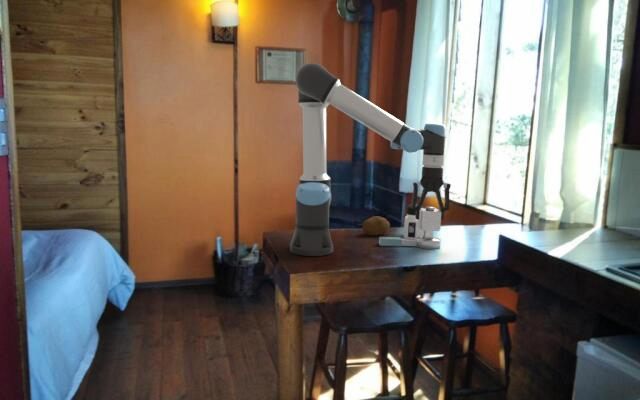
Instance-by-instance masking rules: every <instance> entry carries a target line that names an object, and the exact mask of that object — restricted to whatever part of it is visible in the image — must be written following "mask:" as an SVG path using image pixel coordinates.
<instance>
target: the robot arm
mask: <svg viewBox="0 0 640 400" xmlns="http://www.w3.org/2000/svg"><path fill="white" fill-rule="evenodd" d="M295 85H296V87H297V90H298V91H297V92H298V93H297V97H298V98H297V99H298V101H297V102H298V105H299V106H300V107H301V108H302V154H303V157H302V161H303V165H302V166H303V167H302V171H303V172H302V173H303V174H302V175H301V176H300V177H299V179H298V180H299V184H298V185H297V187H296V190H295V229H294V232H293V234H292V235H293V236H292V238H291V241H290V243H289V246H290V247H289V251H290V253H293V254H295V255H299V256H304V257H305V256H307V257H318V256H319V257H320V256H321V257H323V256H327V255H330V254H332V253H333V252H334V244H333V240H332V237H331V234H330V229H329V227H330V226H329V225H330V206H331V203H332V200H333V199H332V191H331V190H332V189H331V188H332V186H331V182H332V181H331V177H330V176H329V175H328V171H327V108H328V106H329V105H331V106H333V107H334V108H336V109H337V110H338V111H340V112H342V113H344V114H345V115H347V116H348V117H350V118H352V119H353V120H355V121H356V122H358V123H360V124H361V125H363V126H365V127H366V128H368V129H370V130H372V131H373V132H375V133H377V134H378V135H379V136H381V137H383V138H384V139H385V140H388V141H390V148H391V149H393V150H394V149H395V150H403V151H405V152H407V153H408V154H410V153H416V152H419V151H423V152H422V167H421V178H420V180H419V181H413V182H412V187H413V189H412V190H413V191H412V198H411V204H410V205H411V208H412V209H414V210H416V216H415V218H416V219H418V228H419V229H421V218H422V211H421V210H420V209H421V206H423V203H424V201H425V199H426V196H427V194H428V193H430V192H432V193H435V197H436V200H437V203H438V204H437V205H438V207H439V211H440V212H441V213H440V228H439V230H441V225H442V224H441V223H442V221H444V219H445V212H446V211H449V210H451V209H450V188H451V187H452V184H450V183H449V182H446V181H445V182H444V180H443V176H444V168H443V166H444V160H445V147H446V146H445V145H446V138H447V137H446V125H444V124H442V123H425V124H424V127H423V128H413V127H411V126H409V125H407V124H406V123H404V122H403V121H401V120H400V119H398V118H396V117H395V116H394V115H392V114H390V113H388V112H387V111H386V110H383V109H382V108H380V107H379V106H377V105H376V104H374V103H372V102H371V101H369V100H367V99H366V98H364V97H363V96H361V95H360V94H357V93H356V92H354V91H353V90H351V89H349V88H348V87H347V86H345V85H343V84H342V83H341V80H340V78H338V77H336V76H335V75H333V74H332V73H331V72H329V70H327V69H326V68H325V67H324V66H323V65H321V64H320V63H317V62H309V63H306V64H304V65H302V66H301V67H300V68H299V69H298V71H297V73H296V76H295ZM420 185H421V187H422V191H421V193H420V197H419V199H418V201H417V197H418V192H419V188H420ZM442 186H443V188H444V204H443V199H442V197H441V191H440V189H441V188H442ZM416 205H417V206H416Z"/></svg>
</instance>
